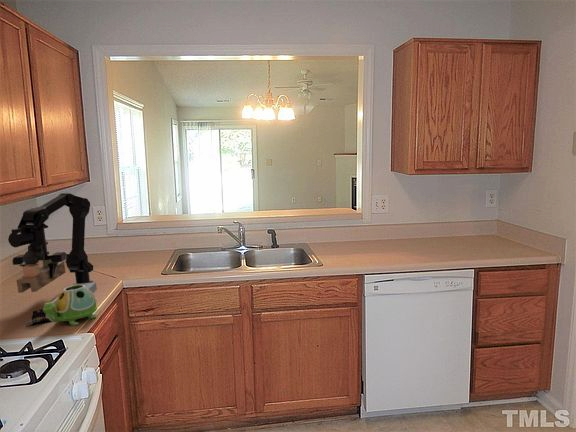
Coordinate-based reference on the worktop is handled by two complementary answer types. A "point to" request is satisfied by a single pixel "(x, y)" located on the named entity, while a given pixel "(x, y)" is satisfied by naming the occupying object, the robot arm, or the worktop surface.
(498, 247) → the worktop surface
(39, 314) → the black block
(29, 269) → the salmon brown cube
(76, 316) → the turtle holder
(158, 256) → the worktop surface
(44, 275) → the pallet
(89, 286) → the dock
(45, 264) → the block
